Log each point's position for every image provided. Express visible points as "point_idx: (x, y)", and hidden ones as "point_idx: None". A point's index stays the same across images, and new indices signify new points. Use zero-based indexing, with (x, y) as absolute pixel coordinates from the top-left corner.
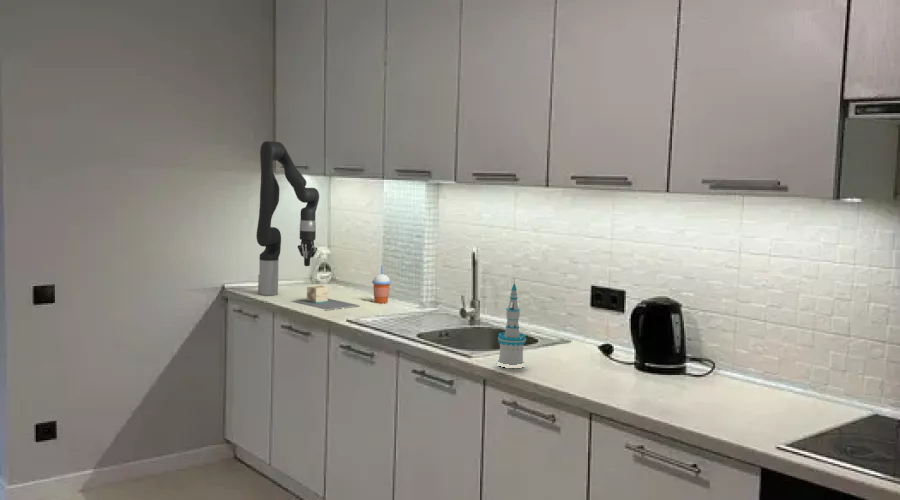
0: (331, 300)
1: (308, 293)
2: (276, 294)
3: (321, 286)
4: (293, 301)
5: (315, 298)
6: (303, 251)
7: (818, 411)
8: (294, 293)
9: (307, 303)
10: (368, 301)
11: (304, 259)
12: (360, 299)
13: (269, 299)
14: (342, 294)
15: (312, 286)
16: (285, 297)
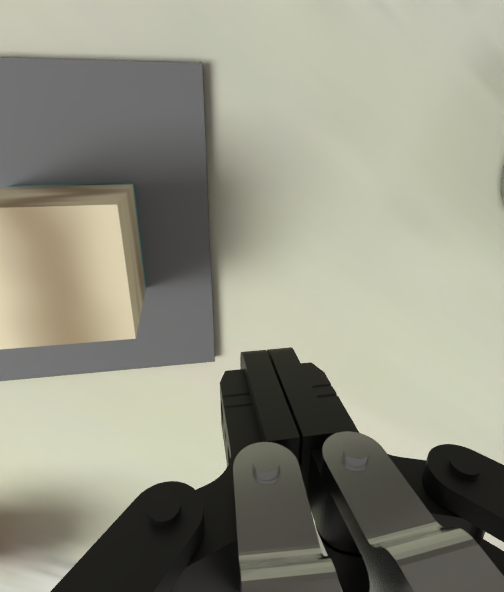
0: (89, 346)
1: (102, 193)
2: (502, 193)
3: (70, 327)
4: (178, 84)
5: (3, 191)
6: (435, 587)
7: None
8: (463, 319)
9: (33, 121)
10: (9, 506)
11: (321, 414)
12: (93, 500)
13: (412, 22)
14: None
15: (105, 257)
16: (398, 188)
